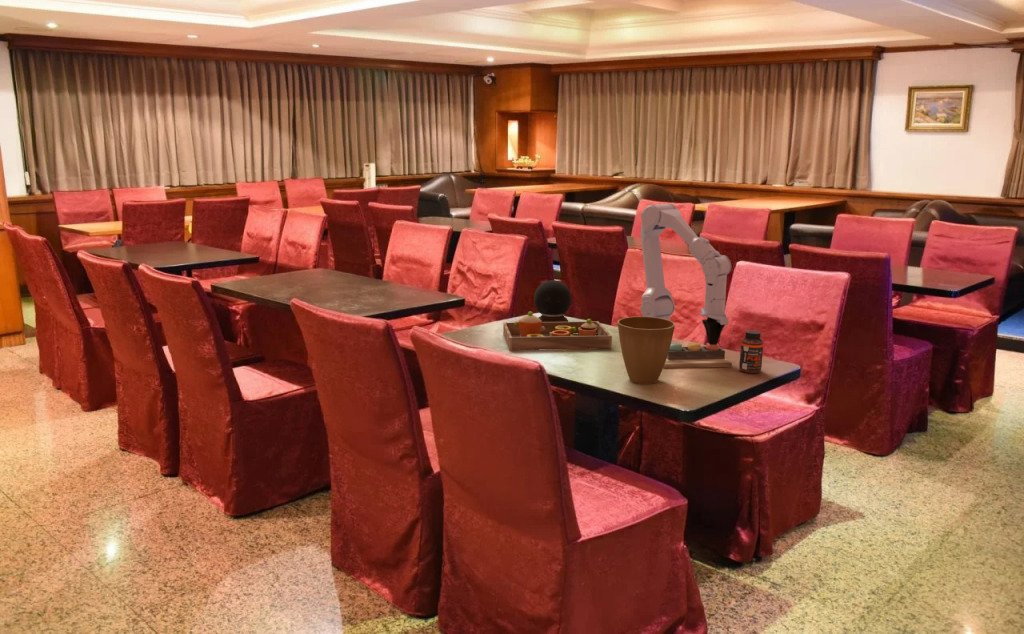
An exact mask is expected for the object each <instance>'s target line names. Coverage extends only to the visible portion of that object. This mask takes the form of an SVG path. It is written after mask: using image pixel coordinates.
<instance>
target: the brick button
mask: <svg viewBox="0 0 1024 634" xmlns="http://www.w3.org/2000/svg"><path fill="white" fill-rule="evenodd" d="M705 346H706V350H707V351H716V350H719V347H720V344H719V343H717V344H716V345H710V344H709V343H708V342H706V343H705Z"/></svg>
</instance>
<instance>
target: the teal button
mask: <svg viewBox="0 0 1024 634" xmlns="http://www.w3.org/2000/svg"><path fill="white" fill-rule="evenodd" d="M682 347H683V344H682V343H677V342H673V343H672V342H671V345H670V349H669V351H682Z"/></svg>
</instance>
